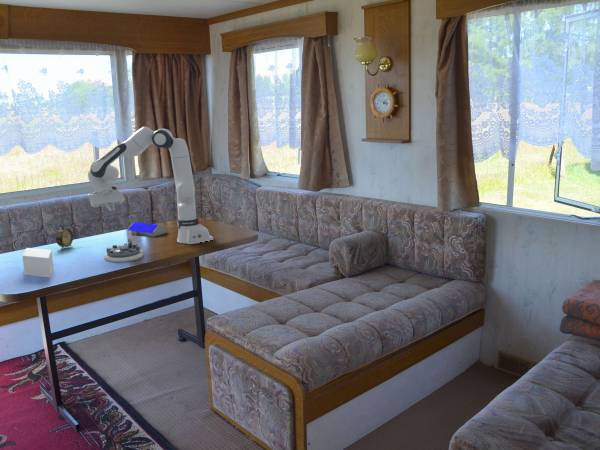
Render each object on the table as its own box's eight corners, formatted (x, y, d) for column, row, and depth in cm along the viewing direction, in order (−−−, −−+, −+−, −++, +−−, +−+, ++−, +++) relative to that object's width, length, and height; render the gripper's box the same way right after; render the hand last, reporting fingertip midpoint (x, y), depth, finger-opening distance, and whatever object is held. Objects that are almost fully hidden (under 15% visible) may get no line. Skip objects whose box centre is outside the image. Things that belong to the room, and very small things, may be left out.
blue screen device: (167, 233, 364) (166, 222, 362) (153, 237, 351) (152, 226, 350) (141, 230, 373) (140, 219, 371) (127, 234, 361) (126, 223, 359)
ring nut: (138, 247, 318) (137, 229, 315) (141, 255, 301) (140, 235, 299) (106, 250, 311) (104, 232, 309) (107, 258, 295) (105, 239, 293)
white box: (35, 281, 267) (33, 261, 264) (14, 269, 287) (12, 250, 284) (65, 274, 277) (63, 255, 275) (42, 263, 297) (40, 245, 294)
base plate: (141, 250, 320) (140, 239, 319) (145, 259, 301) (144, 248, 299) (103, 254, 313) (102, 243, 311) (104, 263, 294) (103, 252, 292)
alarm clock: (63, 250, 321) (60, 224, 317) (55, 250, 322) (52, 223, 318) (74, 246, 331) (71, 220, 328) (66, 245, 332) (63, 219, 329)
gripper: (87, 190, 317) (97, 209, 313) (120, 186, 331) (129, 204, 327) (85, 197, 321) (94, 215, 317) (117, 193, 335) (126, 210, 331)
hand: (112, 210), depth 322 cm, fingers closed
